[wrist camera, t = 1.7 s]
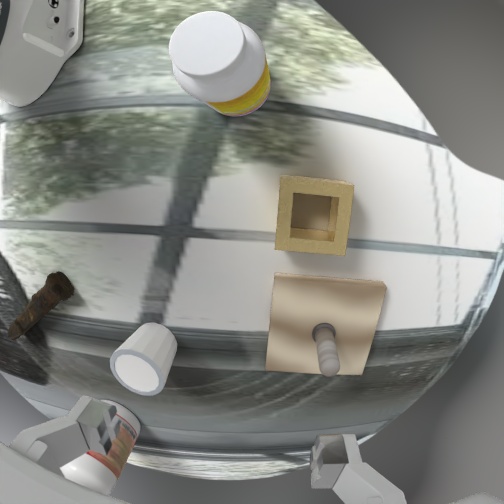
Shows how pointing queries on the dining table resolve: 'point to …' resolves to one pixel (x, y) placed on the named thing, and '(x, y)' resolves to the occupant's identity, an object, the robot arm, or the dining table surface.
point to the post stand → (322, 324)
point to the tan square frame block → (309, 238)
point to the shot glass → (145, 359)
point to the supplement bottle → (220, 63)
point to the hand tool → (42, 303)
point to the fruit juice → (106, 467)
